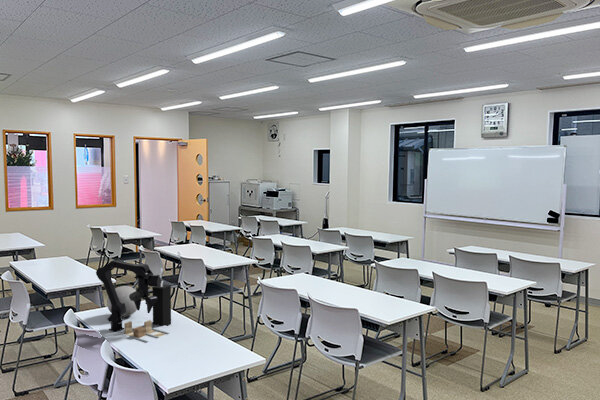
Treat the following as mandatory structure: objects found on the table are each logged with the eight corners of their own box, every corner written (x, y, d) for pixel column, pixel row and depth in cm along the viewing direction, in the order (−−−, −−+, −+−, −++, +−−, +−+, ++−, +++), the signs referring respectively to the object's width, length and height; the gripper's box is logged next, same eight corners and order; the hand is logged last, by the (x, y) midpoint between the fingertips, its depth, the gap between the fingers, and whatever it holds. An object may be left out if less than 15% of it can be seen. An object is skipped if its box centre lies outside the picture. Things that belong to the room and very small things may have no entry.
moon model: (138, 320, 289) (137, 289, 288) (104, 322, 284) (104, 291, 283) (141, 310, 308) (141, 281, 307) (110, 312, 304) (109, 283, 302)
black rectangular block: (152, 326, 278) (152, 281, 276) (161, 322, 285) (160, 278, 283) (163, 328, 275) (162, 283, 273) (171, 324, 282) (170, 280, 280)
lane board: (129, 339, 257) (129, 336, 257) (151, 331, 270) (151, 327, 270) (146, 345, 249) (146, 341, 249) (169, 336, 263) (169, 332, 262)
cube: (133, 336, 258) (133, 328, 258) (140, 333, 262) (139, 326, 261) (138, 337, 255) (138, 330, 255) (145, 335, 259) (145, 327, 259)
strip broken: (143, 333, 264) (143, 322, 264) (150, 331, 268) (150, 319, 268) (158, 338, 257) (158, 326, 257) (165, 335, 262) (165, 324, 261)
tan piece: (123, 334, 262) (123, 323, 262) (131, 332, 266) (130, 320, 266) (138, 339, 255) (138, 327, 255) (145, 336, 259) (145, 325, 259)
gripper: (121, 286, 266) (121, 312, 267) (142, 291, 256) (142, 318, 257) (137, 282, 275) (137, 307, 276) (158, 287, 266) (158, 313, 267)
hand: (143, 311), depth 269 cm, fingers open, 9 cm apart
